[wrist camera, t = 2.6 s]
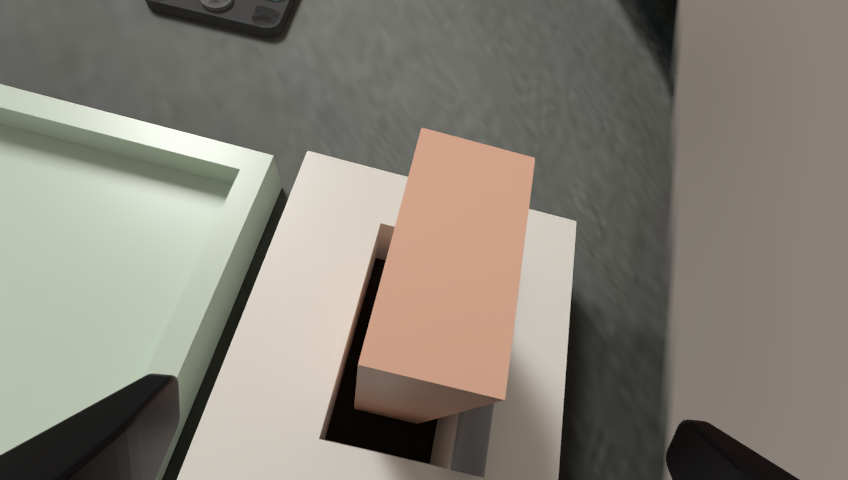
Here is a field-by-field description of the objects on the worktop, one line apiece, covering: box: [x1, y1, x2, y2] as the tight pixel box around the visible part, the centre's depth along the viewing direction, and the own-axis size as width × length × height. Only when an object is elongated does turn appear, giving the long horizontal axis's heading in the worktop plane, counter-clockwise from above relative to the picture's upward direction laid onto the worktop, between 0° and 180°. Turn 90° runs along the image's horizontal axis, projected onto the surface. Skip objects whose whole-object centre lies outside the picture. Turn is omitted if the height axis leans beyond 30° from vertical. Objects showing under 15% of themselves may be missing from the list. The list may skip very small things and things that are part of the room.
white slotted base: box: [177, 151, 576, 480], centre depth 16 cm, size 12×11×4 cm
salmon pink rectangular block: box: [354, 128, 535, 424], centre depth 13 cm, size 5×2×11 cm, turn 168°
